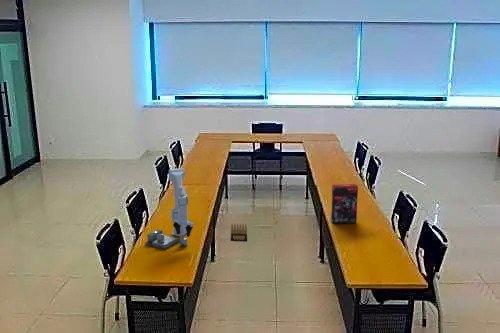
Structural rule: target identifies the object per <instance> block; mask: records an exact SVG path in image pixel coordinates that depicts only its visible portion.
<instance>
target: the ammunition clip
mask: <svg viewBox="0 0 500 333" xmlns="http://www.w3.org/2000/svg"><path fill="white" fill-rule="evenodd" d="M230 242H244V243H247V242H248V227H247V223H245V225H244V223H242V224H241V223H237V224H236V223H234V224H233V223H231V226H230Z"/></svg>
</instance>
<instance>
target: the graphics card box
mask: <svg viewBox="0 0 500 333" xmlns="http://www.w3.org/2000/svg"><path fill="white" fill-rule="evenodd" d="M331 187H332V188H331V217H330V220H331V223H332V224H333V225H340V224H341V225H343V224H344V225H345V224H357V220H358V219H357V218H358V193H359V187H358V184H356V183H348V184H347V183H346V184H345V183H342V184H341V183H340V184H332V186H331Z"/></svg>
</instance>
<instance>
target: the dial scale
mask: <svg viewBox="0 0 500 333" xmlns="http://www.w3.org/2000/svg"><path fill="white" fill-rule="evenodd" d="M159 233H163V230H161V229H158V228H157V229H156V230H153V231H151V232H150V233H148V234H147V235H146V236H147V240H146V241H145V242H144V244H145V246H149V247H152V248H157V249H159V250H163V251H166V250H168V249H170V248H171V247H173V246H175V245H177V244H179V243H180V238H177V237H173V236H169V235H165V234H164V243H157V234H159Z"/></svg>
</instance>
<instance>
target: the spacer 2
mask: <svg viewBox="0 0 500 333" xmlns="http://www.w3.org/2000/svg"><path fill="white" fill-rule="evenodd" d="M179 239H180V242H179V246H180V248H187V247H188V237H187V236H181V237H180V238H179Z"/></svg>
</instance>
